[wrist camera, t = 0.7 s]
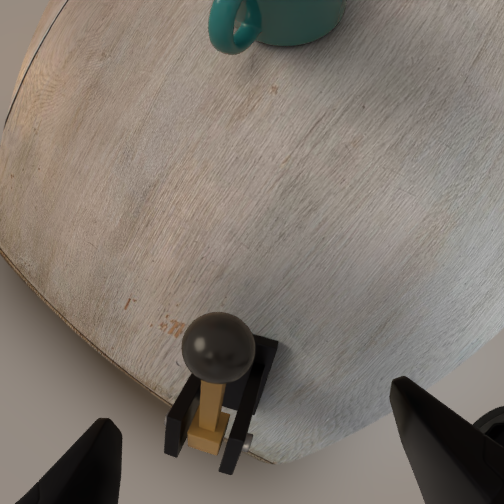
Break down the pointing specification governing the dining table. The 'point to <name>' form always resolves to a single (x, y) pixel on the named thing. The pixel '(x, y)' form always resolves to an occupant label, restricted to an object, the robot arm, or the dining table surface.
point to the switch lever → (215, 371)
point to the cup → (271, 22)
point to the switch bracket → (235, 397)
